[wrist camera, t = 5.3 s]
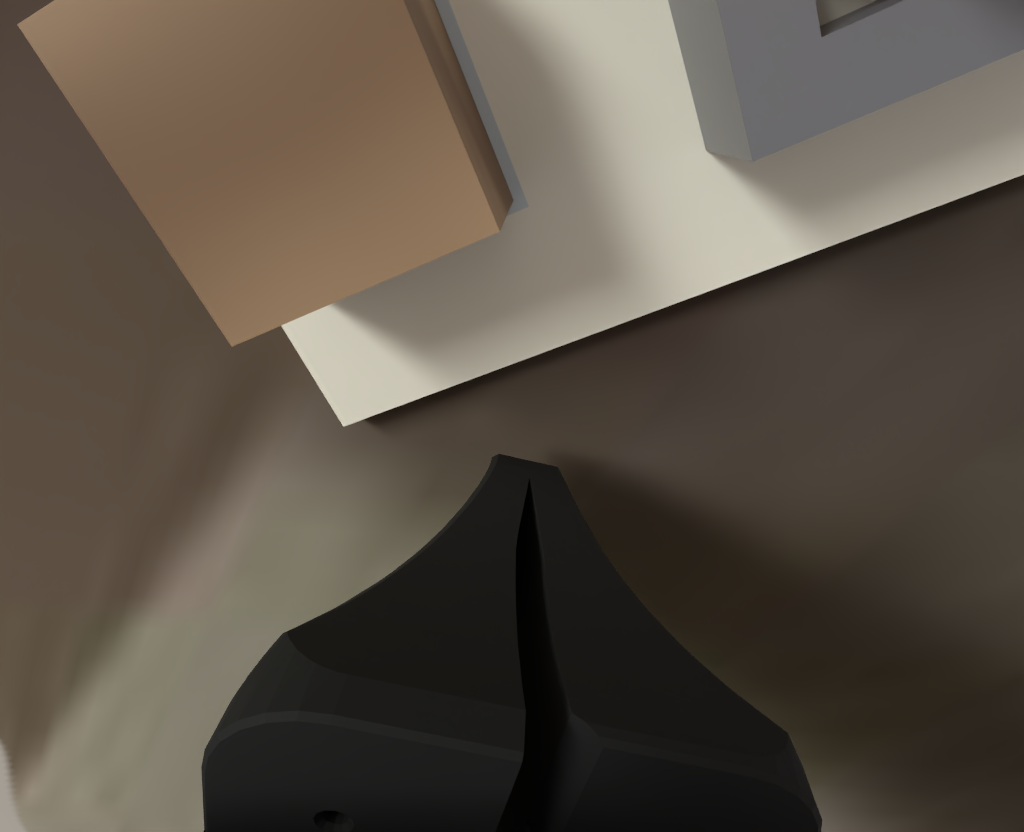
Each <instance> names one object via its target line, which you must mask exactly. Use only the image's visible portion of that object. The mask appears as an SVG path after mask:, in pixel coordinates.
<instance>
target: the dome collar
mask: <svg viewBox="0 0 1024 832" xmlns="http://www.w3.org/2000/svg"><path fill="white" fill-rule="evenodd" d="M668 2H669V6H670V10H671V14H672V18H673V22H674V26H675V30H676V34H677V38H678V42H679V46H680V50H681V54H682V58H683V62H684V65H685V69H686V73H687V77H688V81H689V85H690V89H691V93H692V97H693V101H694V105H695V109H696V113H697V117H698V121H699V125H700V129H701V133H702V137H703V141H704V145H705V149H706V150H707V151H711V152H715V153H719V154H723V155H727V156H731V157H735V158H739V159H743V160H747V161H751V162H753V161H756V160H758V159H761V158H763V157H766V156H768V155H770V154H773V153H775V152H778V151H780V150H782V149H785V148H787V147H790V146H792V145H794V144H797V143H799V142H802V141H804V140H807V139H809V138H811V137H814V136H816V135H819V134H821V133H823V132H826V131H828V130H831V129H833V128H835V127H838V126H840V125H843V124H845V123H848V122H850V121H852V120H855V119H857V118H860V117H862V116H864V115H867V114H869V113H872V112H874V111H876V110H879V109H881V108H884V107H886V106H889V105H891V104H893V103H896V102H898V101H901V100H903V99H905V98H908V97H910V96H913V95H915V94H917V93H920V92H922V91H925V90H927V89H930V88H932V87H934V86H937V85H939V84H942V83H944V82H946V81H949V80H951V79H954V78H956V77H958V76H961V75H963V74H966V73H968V72H971V71H973V70H975V69H978V68H980V67H983V66H985V65H987V64H990V63H992V62H995V61H997V60H999V59H1002V58H1004V57H1007V56H1009V55H1012V54H1014V53H1016V52H1019V51H1021V50H1024V0H877V1H874V2H872V3H870V4H868V5H866V6H863V7H861V8H859V9H857V10H855V11H852V12H850V13H848V14H846V15H844V16H841V17H839V18H837V19H835V20H833V21H830V22H828V23H826V24H824V25H822V26H820V25H819V19H818V13H817V7H816V0H668Z"/></svg>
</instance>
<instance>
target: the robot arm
mask: <svg viewBox="0 0 1024 832" xmlns="http://www.w3.org/2000/svg"><path fill="white" fill-rule="evenodd" d="M202 787H203V808H204V829H205V830H204V832H821V826H822V818H821V816H820V813H819V810H818V808H817V805H816V802H815V800H814V797H813V794H812V791H811V788H810V785H809V783H808V780H807V777H806V774H805V772H804V769H803V766H802V764H801V762H800V759H799V757H798V755H797V753H796V750H795V748H794V746H793V744H792V742H791V739H790V737H789V735H788V733H787V732H786V731H784V730H783V729H782V728H780V727H779V726H778V725H776V724H775V723H774V722H773V721H771V720H770V719H769V718H767V717H766V716H765V715H763V714H762V713H761V712H760V711H758V710H757V709H756V708H754V707H753V706H752V705H750V704H749V703H748V702H746V701H745V700H744V699H743V698H741V697H740V696H739V695H737V694H736V693H735V692H733V691H732V690H731V689H730V688H729V687H727V686H726V685H725V684H724V683H723V682H722V681H720V680H719V679H718V678H717V677H716V676H715V675H714V674H712V673H711V672H710V671H709V670H708V669H707V668H706V667H704V666H703V665H702V664H701V663H700V662H699V661H698V660H697V659H695V658H694V657H693V656H692V655H691V654H690V653H689V652H688V651H687V650H686V649H685V648H684V647H683V646H682V645H681V644H680V643H679V642H678V641H677V640H676V639H675V638H674V637H673V636H672V635H671V634H670V633H669V632H668V631H667V630H666V629H665V628H664V627H663V626H662V625H661V624H660V623H659V622H658V621H657V620H656V619H655V617H654V616H653V615H652V614H651V613H650V612H649V611H648V610H647V608H646V607H645V606H644V605H643V604H642V603H641V602H640V600H639V599H638V598H637V597H636V595H635V594H634V593H633V592H632V590H631V589H630V588H629V587H628V585H627V584H626V583H625V582H624V581H623V579H622V578H621V577H620V575H619V574H618V573H617V571H616V570H615V568H614V567H613V566H612V564H611V563H610V561H609V560H608V558H607V557H606V555H605V554H604V552H603V551H602V549H601V547H600V546H599V544H598V543H597V541H596V539H595V538H594V536H593V534H592V532H591V531H590V529H589V527H588V525H587V524H586V522H585V520H584V518H583V517H582V515H581V513H580V511H579V509H578V507H577V505H576V503H575V501H574V499H573V497H572V495H571V493H570V491H569V489H568V487H567V485H566V483H565V481H564V478H563V476H562V474H561V472H560V471H559V469H558V467H555V466H551V465H546V464H542V463H537V462H533V461H528V460H524V459H519V458H515V457H510V456H506V455H501V454H498V455H496V456H494V457H492V460H491V464H490V466H489V468H488V470H487V472H486V474H485V476H484V477H483V479H482V481H481V482H480V484H479V485H478V487H477V488H476V490H475V491H474V492H473V494H472V495H471V496H470V498H469V499H468V500H467V502H466V503H465V504H464V505H463V507H462V508H461V509H460V510H459V511H458V512H457V513H456V515H455V516H454V517H453V518H452V519H451V520H450V521H449V522H448V523H447V525H446V526H445V527H444V528H443V529H442V530H441V531H440V532H439V533H438V534H437V535H436V536H435V537H434V538H433V539H432V540H431V541H430V542H428V543H427V544H426V545H425V546H424V547H423V548H422V549H421V550H419V551H418V552H417V553H416V554H415V555H414V556H412V557H411V558H410V559H408V560H407V561H406V562H405V563H403V564H402V565H401V566H399V567H398V568H397V569H396V570H394V571H393V572H392V573H390V574H389V575H387V576H386V577H385V578H383V579H382V580H380V581H379V582H377V583H376V584H374V585H372V586H371V587H369V588H368V589H366V590H364V591H363V592H361V593H359V594H358V595H356V596H355V597H353V598H351V599H350V600H348V601H346V602H345V603H343V604H341V605H340V606H338V607H336V608H334V609H332V610H330V611H328V612H326V613H324V614H322V615H320V616H318V617H316V618H314V619H312V620H310V621H308V622H306V623H304V624H302V625H300V626H298V627H296V628H294V629H292V630H289V631H287V632H285V633H283V634H282V635H281V636H280V637H279V638H278V639H277V641H276V642H275V643H274V644H273V645H272V647H271V648H270V649H269V650H268V651H267V652H266V654H265V655H264V656H263V657H262V659H261V660H260V661H259V662H258V664H257V665H256V666H255V668H254V669H253V670H252V672H251V673H250V674H249V676H248V677H247V678H246V680H245V681H244V683H243V684H242V686H241V687H240V688H239V690H238V691H237V693H236V694H235V696H234V698H233V699H232V701H231V702H230V704H229V706H228V708H227V709H226V711H225V713H224V715H223V717H222V719H221V721H220V722H219V724H218V726H217V728H216V730H215V732H214V733H213V735H212V737H211V739H210V741H209V743H208V745H207V746H206V748H205V752H204V757H203V763H202Z"/></svg>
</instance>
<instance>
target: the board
mask: <svg viewBox="0 0 1024 832" xmlns="http://www.w3.org/2000/svg"><path fill="white" fill-rule="evenodd" d="M434 1H435V3H436V6H437V8H438V11H439V13H440V16H441V18H442V21H443V23H444V26H445V28H446V31H447V33H448V36H449V38H450V41H451V44H452V46H453V49H454V51H455V54H456V56H457V59H458V61H459V64H460V66H461V69H462V71H463V74H464V76H465V79H466V81H467V84H468V86H469V89H470V91H471V94H472V96H473V99H474V101H475V104H476V106H477V109H478V111H479V114H480V116H481V119H482V122H483V124H484V127H485V129H486V132H487V134H488V137H489V139H490V142H491V144H492V147H493V149H494V152H495V154H496V157H497V159H498V162H499V164H500V167H501V169H502V172H503V174H504V177H505V179H506V182H507V184H508V187H509V189H510V192H511V194H512V197H513V203H512V205H511V207H510V209H509V212H508V214H507V216H506V219H505V221H504V223H503V225H502V228H501V230H500V232H498V233H495V234H493V235H491V236H488V237H486V238H484V239H481V240H479V241H477V242H474V243H472V244H470V245H467V246H465V247H463V248H460V249H458V250H456V251H453V252H451V253H449V254H446V255H444V256H442V257H439V258H437V259H435V260H432V261H430V262H428V263H425V264H423V265H421V266H418V267H416V268H414V269H411V270H409V271H407V272H404V273H402V274H400V275H397V276H395V277H393V278H390V279H388V280H386V281H383V282H381V283H379V284H377V285H374V286H372V287H370V288H367V289H365V290H363V291H360V292H358V293H356V294H353V295H351V296H349V297H346V298H344V299H342V300H339V301H337V302H335V303H332V304H330V305H328V306H325V307H323V308H321V309H318V310H316V311H314V312H311V313H309V314H307V315H304V316H302V317H300V318H297V319H295V320H293V321H290V322H288V323H286V324H283V325H281V326H282V328H283V329H284V331H285V333H286V334H287V336H288V337H289V339H290V341H291V342H292V344H293V346H294V347H295V349H296V350H297V352H298V354H299V355H300V357H301V359H302V360H303V362H304V363H305V365H306V367H307V368H308V370H309V371H310V373H311V375H312V376H313V378H314V380H315V381H316V383H317V384H318V386H319V388H320V389H321V391H322V393H323V394H324V396H325V397H326V399H327V401H328V402H329V404H330V406H331V407H332V409H333V410H334V412H335V414H336V415H337V417H338V419H339V420H340V422H341V423H342V425H343V427H344V426H347V425H349V424H352V423H355V422H358V421H360V420H363V419H366V418H368V417H371V416H374V415H376V414H379V413H382V412H385V411H387V410H390V409H393V408H395V407H398V406H401V405H403V404H406V403H409V402H412V401H414V400H417V399H420V398H422V397H425V396H428V395H430V394H433V393H436V392H439V391H441V390H444V389H447V388H449V387H452V386H455V385H457V384H460V383H463V382H465V381H468V380H471V379H474V378H476V377H479V376H482V375H484V374H487V373H490V372H492V371H495V370H498V369H501V368H503V367H506V366H509V365H511V364H514V363H517V362H519V361H522V360H525V359H528V358H530V357H533V356H536V355H538V354H541V353H544V352H546V351H549V350H552V349H555V348H557V347H560V346H563V345H565V344H568V343H571V342H573V341H576V340H579V339H582V338H584V337H587V336H590V335H592V334H595V333H598V332H600V331H603V330H606V329H608V328H611V327H614V326H617V325H619V324H622V323H625V322H627V321H630V320H633V319H635V318H638V317H641V316H644V315H646V314H649V313H652V312H654V311H657V310H660V309H662V308H665V307H668V306H671V305H673V304H676V303H679V302H681V301H684V300H687V299H689V298H692V297H695V296H698V295H700V294H703V293H706V292H708V291H711V290H714V289H716V288H719V287H722V286H724V285H727V284H730V283H733V282H735V281H738V280H741V279H743V278H746V277H749V276H751V275H754V274H757V273H760V272H762V271H765V270H768V269H770V268H773V267H776V266H778V265H781V264H784V263H787V262H789V261H792V260H795V259H797V258H800V257H803V256H805V255H808V254H811V253H814V252H816V251H819V250H822V249H824V248H827V247H830V246H832V245H835V244H838V243H841V242H843V241H846V240H849V239H851V238H854V237H857V236H859V235H862V234H865V233H867V232H870V231H873V230H876V229H878V228H881V227H884V226H886V225H889V224H892V223H894V222H897V221H900V220H903V219H905V218H908V217H911V216H913V215H916V214H919V213H921V212H924V211H927V210H930V209H932V208H935V207H938V206H940V205H943V204H946V203H948V202H951V201H954V200H957V199H959V198H962V197H965V196H967V195H970V194H973V193H975V192H978V191H981V190H984V189H986V188H989V187H992V186H994V185H997V184H1000V183H1002V182H1005V181H1008V180H1010V179H1013V178H1016V177H1019V176H1021V175H1024V50H1021V51H1019V52H1016V53H1014V54H1012V55H1009V56H1007V57H1004V58H1002V59H999V60H997V61H995V62H992V63H990V64H987V65H985V66H983V67H980V68H978V69H975V70H973V71H971V72H968V73H966V74H963V75H961V76H958V77H956V78H954V79H951V80H949V81H946V82H944V83H942V84H939V85H937V86H934V87H932V88H930V89H927V90H925V91H922V92H920V93H917V94H915V95H913V96H910V97H908V98H905V99H903V100H901V101H898V102H896V103H893V104H891V105H889V106H886V107H884V108H881V109H879V110H876V111H874V112H872V113H869V114H867V115H864V116H862V117H860V118H857V119H855V120H852V121H850V122H848V123H845V124H843V125H840V126H838V127H835V128H833V129H831V130H828V131H826V132H823V133H821V134H819V135H816V136H814V137H811V138H809V139H807V140H804V141H802V142H799V143H797V144H794V145H792V146H790V147H787V148H785V149H782V150H780V151H778V152H775V153H773V154H770V155H768V156H766V157H763V158H761V159H758V160H756V161H753V162H751V161H747V160H743V159H739V158H735V157H731V156H727V155H723V154H719V153H715V152H711V151H707V150H706V149H705V145H704V141H703V137H702V133H701V129H700V125H699V121H698V117H697V113H696V109H695V105H694V101H693V97H692V93H691V89H690V85H689V81H688V77H687V73H686V69H685V65H684V62H683V58H682V54H681V50H680V46H679V42H678V38H677V34H676V30H675V26H674V22H673V18H672V14H671V10H670V6H669V2H668V0H434ZM874 1H877V0H816V7H817V13H818V19H819V25H820V26H822V25H824V24H826V23H828V22H830V21H833V20H835V19H837V18H839V17H841V16H844V15H846V14H848V13H850V12H852V11H855V10H857V9H859V8H861V7H863V6H866V5H868V4H870V3H872V2H874Z"/></svg>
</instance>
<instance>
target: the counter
mask: <svg viewBox="0 0 1024 832" xmlns="http://www.w3.org/2000/svg"><path fill="white" fill-rule="evenodd" d="M17 25H18V26H19V28H20V29H21V31H22V32H23V34H24V35H25V37H26V38H27V40H28V41H29V43H30V44H31V46H32V47H33V49H34V50H35V52H36V53H37V55H38V56H39V58H40V59H41V61H42V62H43V64H44V65H45V67H46V68H47V70H48V71H49V73H50V74H51V76H52V77H53V79H54V80H55V82H56V83H57V85H58V86H59V88H60V89H61V91H62V92H63V94H64V95H65V97H66V99H67V100H68V102H69V103H70V105H71V106H72V108H73V109H74V111H75V112H76V114H77V115H78V117H79V118H80V120H81V121H82V123H83V124H84V126H85V127H86V129H87V130H88V132H89V133H90V135H91V136H92V138H93V139H94V141H95V142H96V144H97V145H98V147H99V148H100V150H101V151H102V153H103V154H104V156H105V157H106V159H107V160H108V162H109V163H110V165H111V166H112V168H113V169H114V171H115V172H116V174H117V175H118V177H119V178H120V180H121V181H122V183H123V184H124V186H125V187H126V189H127V190H128V192H129V193H130V195H131V196H132V198H133V199H134V201H135V202H136V204H137V205H138V207H139V208H140V210H141V211H142V213H143V214H144V216H145V217H146V219H147V220H148V222H149V223H150V225H151V226H152V228H153V229H154V231H155V232H156V234H157V235H158V237H159V238H160V240H161V241H162V243H163V244H164V246H165V247H166V249H167V250H168V252H169V253H170V255H171V256H172V258H173V259H174V261H175V262H176V264H177V265H178V267H179V268H180V270H181V271H182V273H183V274H184V276H185V277H186V279H187V280H188V282H189V283H190V285H191V286H192V288H193V289H194V291H195V292H196V294H197V295H198V297H199V298H200V300H201V301H202V303H203V304H204V306H205V307H206V309H207V310H208V312H209V313H210V315H211V316H212V318H213V319H214V321H215V322H216V324H217V325H218V327H219V328H220V330H221V331H222V333H223V334H224V336H225V337H226V339H227V340H228V342H229V343H230V345H231V346H235V345H237V344H239V343H242V342H244V341H246V340H249V339H251V338H253V337H255V336H258V335H260V334H262V333H265V332H267V331H269V330H272V329H274V328H276V327H279V326H281V325H283V324H286V323H288V322H290V321H293V320H295V319H297V318H300V317H302V316H304V315H307V314H309V313H311V312H314V311H316V310H318V309H321V308H323V307H325V306H328V305H330V304H332V303H335V302H337V301H339V300H342V299H344V298H346V297H349V296H351V295H353V294H356V293H358V292H360V291H363V290H365V289H367V288H370V287H372V286H374V285H377V284H379V283H381V282H383V281H386V280H388V279H390V278H393V277H395V276H397V275H400V274H402V273H404V272H407V271H409V270H411V269H414V268H416V267H418V266H421V265H423V264H425V263H428V262H430V261H432V260H435V259H437V258H439V257H442V256H444V255H446V254H449V253H451V252H453V251H456V250H458V249H460V248H463V247H465V246H467V245H470V244H472V243H474V242H477V241H479V240H481V239H484V238H486V237H488V236H491V235H493V234H495V233H498V232H500V230H501V228H502V225H503V223H504V221H505V219H506V216H507V214H508V212H509V209H510V207H511V205H512V203H513V197H512V194H511V192H510V189H509V187H508V184H507V182H506V179H505V177H504V174H503V172H502V169H501V167H500V164H499V162H498V159H497V157H496V154H495V152H494V149H493V147H492V144H491V142H490V139H489V137H488V134H487V132H486V129H485V127H484V124H483V122H482V119H481V116H480V114H479V111H478V109H477V106H476V104H475V101H474V99H473V96H472V94H471V91H470V89H469V86H468V84H467V81H466V79H465V76H464V74H463V71H462V69H461V66H460V64H459V61H458V59H457V56H456V54H455V51H454V49H453V46H452V44H451V41H450V38H449V36H448V33H447V31H446V28H445V26H444V23H443V21H442V18H441V16H440V13H439V11H438V8H437V6H436V3H435V1H434V0H54V1H53V2H51V3H50V4H48V5H47V6H45V7H43V8H42V9H40V10H39V11H37V12H36V13H34V14H33V15H31V16H30V17H28V18H27V19H25V20H24V21H22V22H21V23H19V24H17Z"/></svg>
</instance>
